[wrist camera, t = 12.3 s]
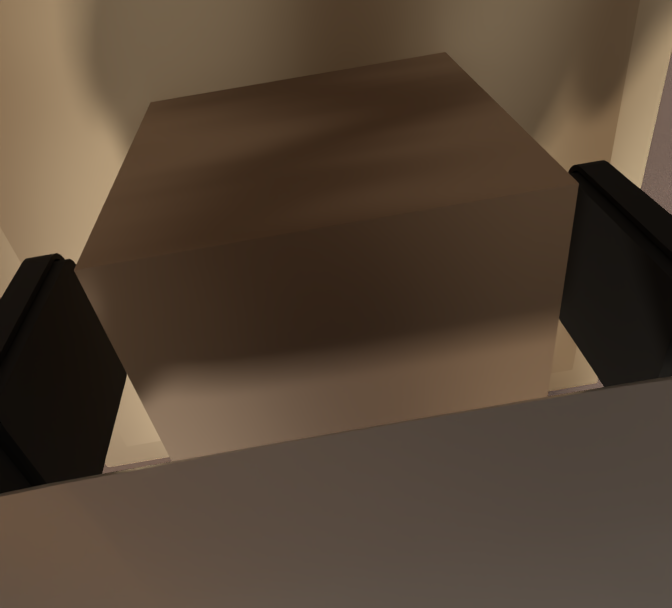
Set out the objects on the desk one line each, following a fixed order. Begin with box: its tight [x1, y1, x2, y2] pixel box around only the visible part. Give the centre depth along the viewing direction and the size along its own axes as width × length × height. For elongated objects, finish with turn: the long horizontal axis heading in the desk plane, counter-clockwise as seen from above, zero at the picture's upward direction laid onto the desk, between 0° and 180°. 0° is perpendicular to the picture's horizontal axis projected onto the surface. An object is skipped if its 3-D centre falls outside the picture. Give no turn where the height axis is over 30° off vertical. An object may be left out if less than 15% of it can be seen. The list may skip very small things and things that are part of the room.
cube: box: [74, 52, 579, 461], centre depth 11 cm, size 6×6×6 cm
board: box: [0, 0, 672, 467], centre depth 14 cm, size 16×16×2 cm
